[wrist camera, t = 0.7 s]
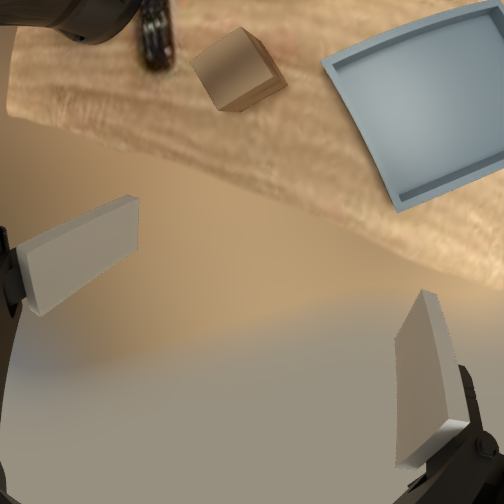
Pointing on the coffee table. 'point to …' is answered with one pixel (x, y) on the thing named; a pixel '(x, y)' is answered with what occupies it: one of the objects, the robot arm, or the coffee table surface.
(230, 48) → the walnut cube
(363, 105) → the blue-grey tray
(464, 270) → the coffee table surface
